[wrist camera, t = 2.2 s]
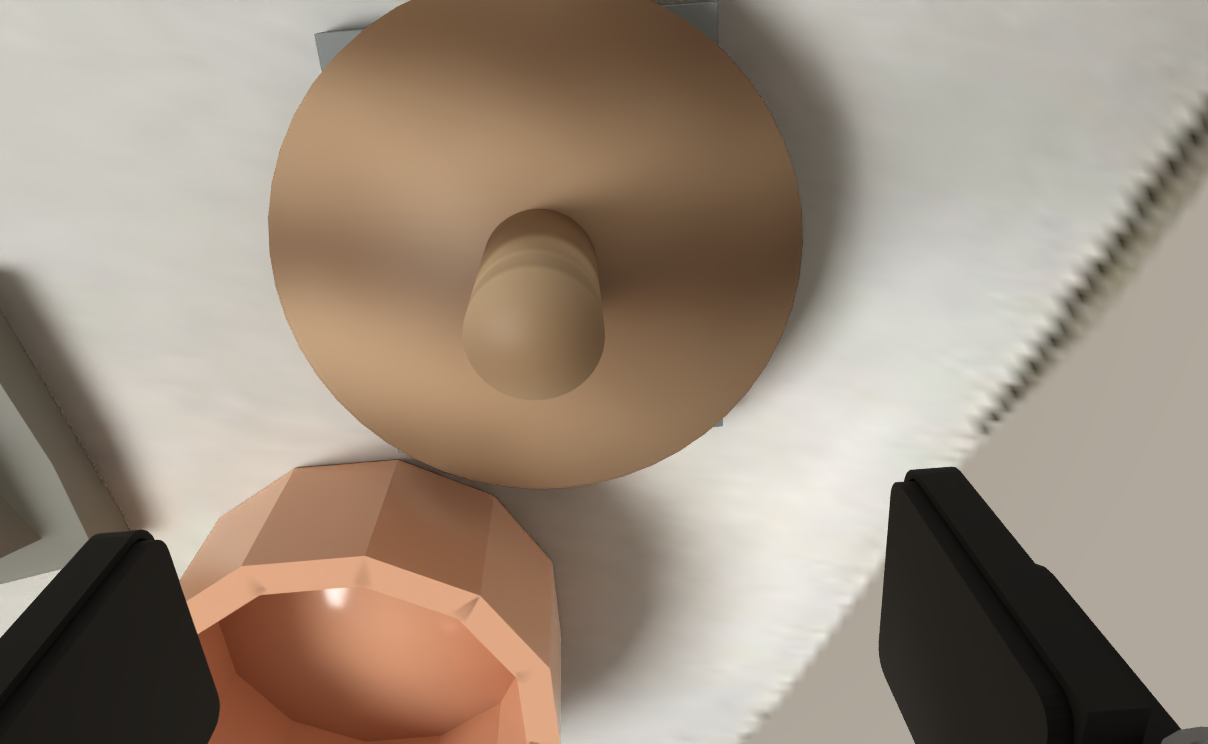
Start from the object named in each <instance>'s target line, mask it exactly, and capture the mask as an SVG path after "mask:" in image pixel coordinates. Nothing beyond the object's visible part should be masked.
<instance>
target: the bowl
mask: <svg viewBox="0 0 1208 744" xmlns="http://www.w3.org/2000/svg"><path fill="white" fill-rule="evenodd" d="M179 582H180V584H181V587H182V590H183V593H184V596H185V599H186V602H187V605H188V608H189V611H190V614H191V616H192V619H193V622H194V625H195V628H196V631H197V634H198V637H199V640H200V643H201V646H202V648H203V651H204V654H205V657H206V660H207V663H208V666H209V669H210V672H211V675H212V678H213V680H214V683H215V686H216V689H217V692H218V695H219V700H220V713H219V719H218V723H217V725H216V728H215V730H214V732H213V734H212V736H211V738H210V740H209V742H208V744H561V631H560V622H559V614H558V606H557V597H556V589H555V581H554V572H553V564H552V561H551V560H550V559H549V557H548V556H547V555H546V554H545V553H544V552H543V551H542V550H541V548H540V547H539V546H538V545H537V544H536V543H535V542H534V540H533V539H532V538H531V537H530V536H529V535H528V534H527V533H526V531H525V530H524V529H523V528H522V527H521V526H520V525H519V524H518V522H517V521H516V520H515V519H514V518H513V517H512V516H511V515H510V513H509V512H508V511H507V510H506V509H505V508H504V507H503V505H502V504H501V503H500V502H499V501H498V500H497V499H496V498H495V496H493V495H491V494H488V493H485V492H483V491H480V490H477V489H475V488H472V487H470V486H467V485H464V484H462V483H459V482H456V481H454V480H451V479H448V478H446V477H443V476H440V475H438V474H435V473H432V472H430V471H427V470H424V469H422V468H419V467H416V466H414V465H411V464H408V463H406V462H403V461H400V460H388V461H376V462H364V463H352V464H340V465H328V466H316V467H304V468H295V469H293V470H292V471H290V472H289V473H287V474H286V475H284V476H283V477H281V478H280V479H278V480H277V481H275V482H274V483H272V484H270V485H269V486H267V487H266V488H264V489H263V490H261V491H260V492H258V493H257V494H255V495H254V496H252V497H251V498H249V499H248V500H246V501H245V502H243V503H242V504H240V505H239V506H237V507H236V508H234V509H233V510H231V511H230V512H228V513H227V514H225V515H224V516H222V517H221V518H219V519H218V521H217V523H216V524H215V526H214V527H213V529H212V530H211V532H210V534H209V535H208V537H207V538H206V540H205V541H204V543H203V544H202V546H201V548H200V549H199V551H198V552H197V554H196V555H195V557H194V558H193V560H192V562H191V563H190V565H189V566H188V568H187V569H186V571H185V573H184V574H183V576H182V577H181V579H180V580H179Z"/></svg>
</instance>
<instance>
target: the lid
mask: <svg viewBox="0 0 1208 744" xmlns="http://www.w3.org/2000/svg"><path fill="white" fill-rule="evenodd" d="M268 223H269V248H270V257H271V263H272V269H273V274H274V280H275V285H276V289H277V292H278V295H279V298H280V301H281V305H282V308H283V311H284V314H285V317H286V320H287V322H288V324H289V326H290V328H291V330H292V332H293V334H294V337H295V339H296V341H297V343H298V345H299V347H300V349H301V351H302V352H303V354H304V355H305V357H306V359H307V360H308V362H309V363H310V365H311V366H312V368H313V370H314V371H315V373H316V374H317V376H318V377H319V378H320V380H321V381H322V382H323V383H324V384H325V386H326V387H327V388H328V389H329V391H330V392H331V393H332V394H333V395H334V397H335V398H336V399H337V400H338V401H339V402H340V403H341V404H342V405H343V406H344V407H345V408H346V409H347V410H348V411H349V412H350V413H351V414H352V415H353V416H354V417H355V418H356V419H357V420H358V421H359V422H361V423H362V424H363V425H364V426H366V427H367V428H368V429H370V430H371V431H372V432H374V433H375V434H376V435H378V436H379V437H380V438H382V439H383V440H384V441H386V442H387V443H389V444H390V445H392V446H394V447H395V448H397V449H399V450H401V451H402V452H404V453H406V454H407V455H409V456H411V457H412V458H414V459H416V460H419V461H421V462H423V463H425V464H428V465H430V466H432V467H435V468H437V469H439V470H441V471H444V472H447V473H450V474H453V475H457V476H460V477H463V478H466V479H469V480H473V481H478V482H483V483H488V484H493V485H498V486H504V487H516V488H528V489H548V488H568V487H575V486H582V485H589V484H595V483H599V482H603V481H607V480H611V479H615V478H619V477H623V476H625V475H628V474H631V473H633V472H636V471H639V470H641V469H644V468H646V467H649V466H652V465H654V464H656V463H658V462H659V461H661V460H663V459H665V458H667V457H669V456H671V455H673V454H675V453H677V452H679V451H680V450H682V449H683V448H685V447H686V446H688V445H689V444H691V443H692V442H693V441H695V440H696V439H698V438H699V437H701V436H702V435H704V434H705V433H706V432H707V431H709V430H710V429H711V428H712V427H713V426H714V425H715V424H717V423H718V422H719V421H720V420H721V419H722V418H724V417H725V416H726V415H727V414H728V413H729V412H730V411H731V410H732V408H733V407H734V406H735V405H736V404H737V403H738V402H739V401H740V400H741V399H742V397H743V396H744V395H745V394H746V393H747V392H748V391H749V389H750V388H751V386H752V385H753V384H754V382H755V381H756V379H757V378H758V376H759V375H760V374H761V372H762V371H763V369H764V368H765V366H766V365H767V363H768V361H769V359H770V357H771V355H772V354H773V352H774V350H775V348H776V346H777V344H778V342H779V340H780V338H781V336H782V333H783V331H784V328H785V325H786V323H787V320H788V317H789V315H790V312H791V309H792V306H793V302H794V297H795V293H796V289H797V285H798V280H799V275H800V265H801V255H802V245H803V240H802V213H801V205H800V199H799V193H798V187H797V182H796V176H795V173H794V170H793V167H792V163H791V160H790V157H789V154H788V151H787V148H786V145H785V142H784V140H783V138H782V136H781V133H780V131H779V129H778V127H777V125H776V123H775V121H774V119H773V117H772V115H771V113H770V110H769V109H768V107H767V106H766V104H765V103H764V101H763V100H762V98H761V97H760V95H759V94H758V92H757V91H756V89H755V88H754V86H753V85H752V83H751V82H750V80H749V79H748V78H747V77H746V75H745V74H744V73H743V72H742V71H741V70H740V69H739V68H738V66H737V65H736V64H735V63H734V62H733V61H732V60H731V58H730V57H729V56H728V55H727V54H726V53H725V52H724V51H723V50H722V49H721V48H720V47H719V46H717V45H716V44H715V43H714V42H713V41H711V40H710V39H709V38H708V37H707V36H706V35H704V34H703V33H702V32H701V31H700V30H699V29H697V28H696V27H695V26H694V25H692V24H690V23H689V22H687V21H686V20H684V19H682V18H681V17H679V16H678V15H676V14H675V13H673V12H671V11H670V10H668V9H667V8H665V7H664V6H662V5H660V4H657V3H655V2H653V1H651V0H411V1H409V2H407V3H404V4H402V5H400V6H398V7H396V8H395V9H393V10H392V11H390V12H389V13H387V14H386V15H384V16H383V17H381V18H380V19H378V20H377V21H375V22H374V23H372V24H371V25H369V26H368V27H366V28H365V29H364V30H363V31H361V32H360V33H359V34H358V35H357V36H356V37H355V38H354V39H353V40H352V41H351V42H349V43H348V44H347V45H346V46H345V47H344V48H343V49H342V50H341V51H340V52H338V53H337V54H336V55H335V57H334V58H333V59H332V60H331V62H330V63H329V64H328V65H327V67H326V68H325V69H324V70H323V71H322V73H321V74H320V75H319V76H318V78H317V79H316V80H315V81H314V83H313V84H312V86H311V87H310V89H309V91H308V92H307V94H306V96H305V97H304V99H303V101H302V103H301V104H300V106H299V108H298V109H297V111H296V113H295V114H294V116H293V119H292V121H291V124H290V126H289V129H288V131H287V134H286V136H285V138H284V141H283V143H282V146H281V148H280V152H279V156H278V160H277V164H276V168H275V172H274V176H273V180H272V186H271V196H270V206H269V216H268Z"/></svg>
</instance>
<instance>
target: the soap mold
mask: <svg viewBox="0 0 1208 744" xmlns="http://www.w3.org/2000/svg"><path fill="white" fill-rule="evenodd" d="M119 531H130V530H129V528H128V525H127V523H126V521H125V519H124V517H123V514H122V512H121V511H120V509H119V507H118V506H117V504H116V502H115V501H114V499H113V498H112V496H111V494H110V493H109V491H108V489H107V488H106V486H105V485H104V483H103V481H102V480H101V478H100V476H99V475H98V473H97V472H96V470H95V468H94V467H93V465H92V463H91V461H90V460H89V458H88V456H87V455H86V453H85V451H84V450H83V448H82V446H81V445H80V443H79V441H78V439H77V438H76V436H75V434H74V433H73V431H72V429H71V428H70V426H69V424H68V422H67V421H66V419H65V417H64V416H63V414H62V412H61V411H60V409H59V407H58V406H57V404H56V402H55V400H54V399H53V397H52V395H51V394H50V392H49V390H48V389H47V387H46V385H45V384H44V382H43V380H42V378H41V377H40V375H39V373H38V372H37V370H36V368H35V367H34V365H33V363H32V362H31V360H30V358H29V356H28V355H27V353H26V351H25V350H24V348H23V346H22V345H21V343H20V341H19V340H18V338H17V336H16V334H15V333H14V331H13V329H12V328H11V326H10V324H9V323H8V321H7V319H6V318H5V316H4V314H3V312H2V311H1V309H0V584H3V583H7V582H11V581H15V580H19V579H23V578H27V577H31V576H35V575H39V574H43V573H47V572H51V571H55V570H59V569H63V568H64V566H65V565H66V564H67V563H68V562H69V561H70V560H71V559H72V558H73V556H74V555H75V554H76V553H77V552H78V551H79V550H80V549H81V547H82V546H83V545H84V544H85V543H86V542H87V541H88V540H89V539H90V538H91V537H92V536H94V535H95V534H99V533H106V532H119Z"/></svg>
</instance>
